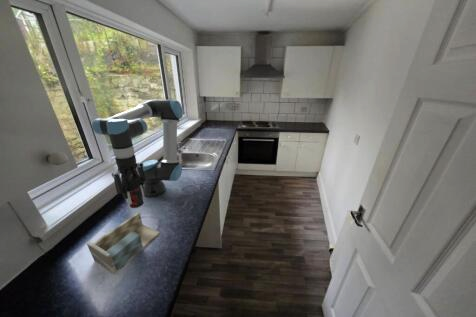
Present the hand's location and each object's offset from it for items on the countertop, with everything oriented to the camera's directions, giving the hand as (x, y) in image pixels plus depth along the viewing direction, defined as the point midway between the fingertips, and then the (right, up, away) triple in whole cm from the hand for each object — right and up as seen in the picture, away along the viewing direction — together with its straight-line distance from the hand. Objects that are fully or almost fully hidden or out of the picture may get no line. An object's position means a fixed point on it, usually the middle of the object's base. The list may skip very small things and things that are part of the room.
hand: (135, 199), depth 86 cm
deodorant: (0, -3, +1) cm, 3 cm away
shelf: (-3, -23, +1) cm, 23 cm away
